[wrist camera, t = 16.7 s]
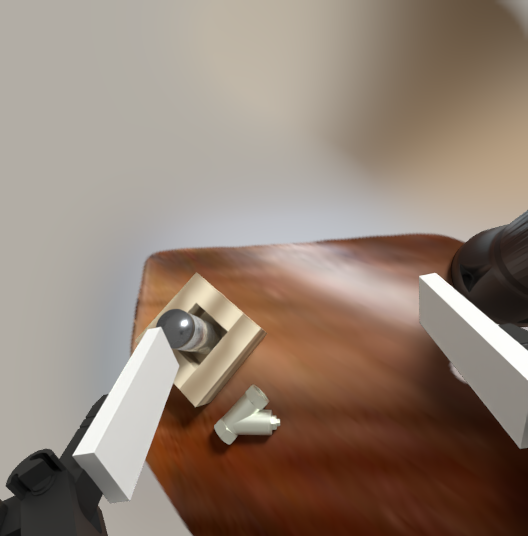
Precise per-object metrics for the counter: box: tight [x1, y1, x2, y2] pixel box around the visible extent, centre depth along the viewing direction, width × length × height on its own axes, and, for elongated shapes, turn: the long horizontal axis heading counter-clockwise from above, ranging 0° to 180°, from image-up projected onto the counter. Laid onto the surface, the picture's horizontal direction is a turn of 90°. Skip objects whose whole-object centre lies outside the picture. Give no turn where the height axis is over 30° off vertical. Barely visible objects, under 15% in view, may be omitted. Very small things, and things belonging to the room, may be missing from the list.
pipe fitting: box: [214, 384, 280, 445], centre depth 43 cm, size 8×4×7 cm
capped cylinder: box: [156, 309, 222, 354], centre depth 43 cm, size 5×5×12 cm
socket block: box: [135, 273, 267, 407], centre depth 47 cm, size 14×14×6 cm
